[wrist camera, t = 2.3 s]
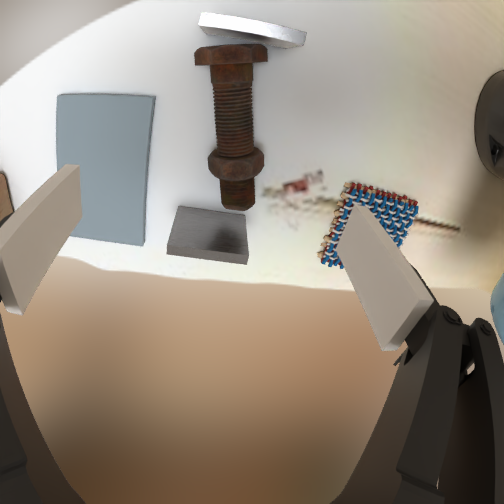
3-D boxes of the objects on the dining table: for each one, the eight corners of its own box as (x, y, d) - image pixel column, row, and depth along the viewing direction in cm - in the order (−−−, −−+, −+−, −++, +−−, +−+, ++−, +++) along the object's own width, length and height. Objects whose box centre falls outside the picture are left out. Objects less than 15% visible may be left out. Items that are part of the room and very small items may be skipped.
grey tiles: (288, 39, 21) (306, 32, 16) (243, 223, 32) (246, 264, 27) (208, 24, 20) (201, 12, 15) (177, 214, 31) (166, 254, 26)
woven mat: (417, 197, 32) (425, 205, 31) (382, 266, 38) (388, 276, 37) (344, 176, 30) (350, 183, 29) (313, 256, 36) (317, 266, 35)
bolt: (230, 188, 32) (222, 46, 23) (274, 197, 30) (274, 44, 21) (199, 214, 28) (182, 49, 19) (248, 226, 26) (241, 43, 17)
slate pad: (155, 96, 24) (153, 97, 23) (144, 241, 33) (142, 246, 32) (62, 94, 22) (57, 95, 21) (67, 230, 31) (63, 235, 30)
